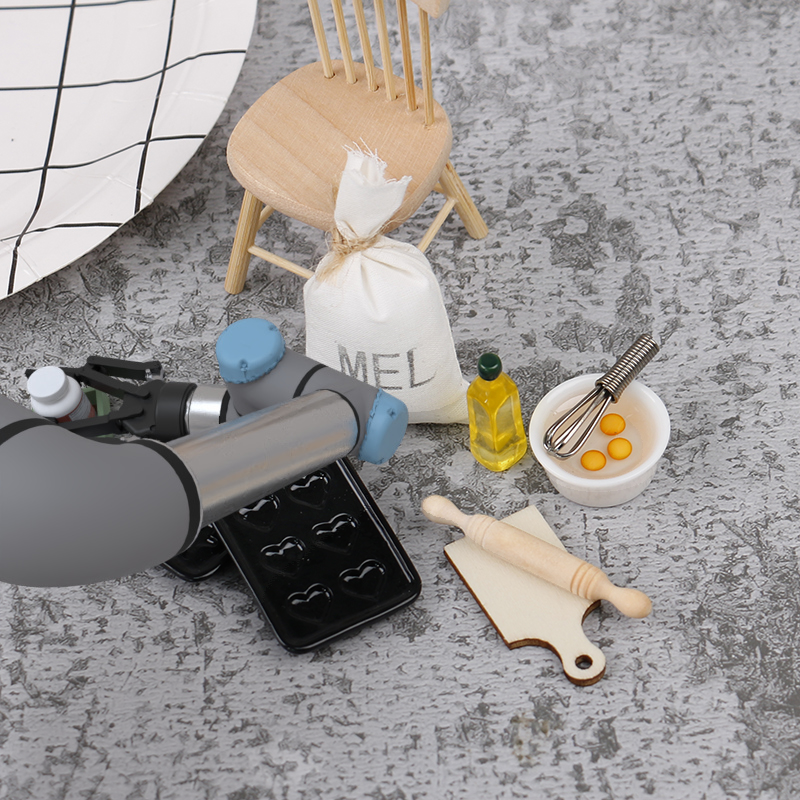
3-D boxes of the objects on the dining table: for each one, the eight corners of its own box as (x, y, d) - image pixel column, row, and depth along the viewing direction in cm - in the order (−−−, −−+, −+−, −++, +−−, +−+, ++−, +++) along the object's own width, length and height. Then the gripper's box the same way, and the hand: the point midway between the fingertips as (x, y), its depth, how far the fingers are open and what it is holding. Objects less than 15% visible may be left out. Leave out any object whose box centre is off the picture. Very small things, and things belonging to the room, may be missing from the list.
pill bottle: (45, 440, 122) (9, 391, 113) (74, 404, 125) (41, 353, 116) (82, 457, 120) (48, 409, 111) (111, 420, 123) (81, 370, 114)
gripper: (182, 497, 112) (2, 480, 116) (222, 370, 123) (57, 357, 126) (164, 464, 106) (-25, 447, 109) (208, 333, 117) (35, 321, 120)
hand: (19, 399), depth 118 cm, fingers closed on pill bottle, 6 cm apart
